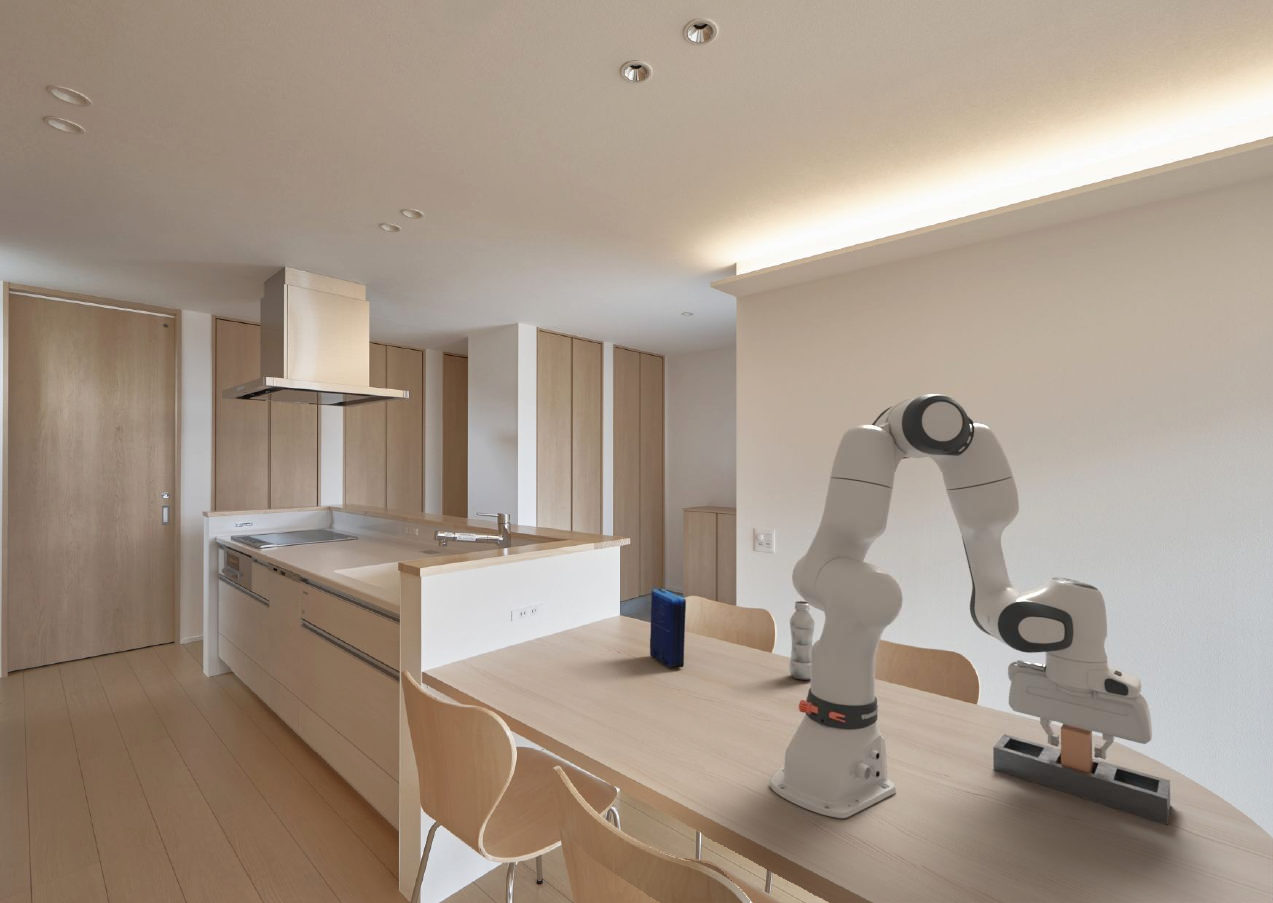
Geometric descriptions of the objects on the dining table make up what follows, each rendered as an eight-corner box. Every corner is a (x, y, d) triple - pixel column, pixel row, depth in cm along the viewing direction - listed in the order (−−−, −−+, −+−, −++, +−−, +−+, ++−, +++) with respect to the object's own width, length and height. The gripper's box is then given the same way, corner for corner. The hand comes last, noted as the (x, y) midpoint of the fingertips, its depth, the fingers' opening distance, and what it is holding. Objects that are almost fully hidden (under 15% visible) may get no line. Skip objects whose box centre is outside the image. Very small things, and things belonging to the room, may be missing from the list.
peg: (1089, 794, 101) (1089, 735, 101) (1061, 786, 104) (1060, 728, 104) (1092, 785, 104) (1091, 728, 104) (1064, 777, 106) (1064, 721, 107)
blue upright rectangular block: (646, 656, 173) (647, 588, 173) (662, 654, 175) (663, 586, 176) (669, 672, 160) (670, 597, 160) (686, 669, 162) (687, 596, 163)
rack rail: (1167, 824, 92) (1167, 798, 92) (993, 769, 109) (993, 747, 109) (1170, 804, 98) (1169, 780, 98) (1004, 754, 115) (1004, 734, 115)
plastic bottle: (809, 674, 160) (809, 599, 160) (818, 682, 153) (818, 605, 154) (786, 673, 160) (786, 599, 160) (793, 682, 153) (793, 605, 154)
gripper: (1003, 661, 109) (1004, 737, 109) (1149, 691, 95) (1150, 778, 95) (1012, 654, 114) (1012, 727, 113) (1152, 682, 99) (1153, 765, 99)
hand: (1076, 750), depth 104 cm, fingers open, 5 cm apart
